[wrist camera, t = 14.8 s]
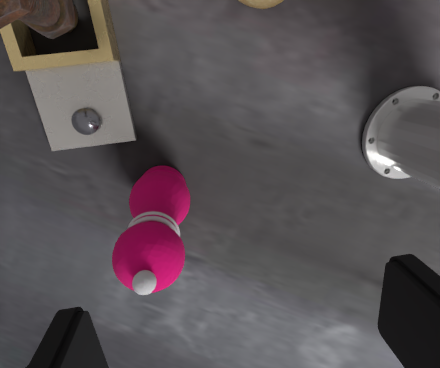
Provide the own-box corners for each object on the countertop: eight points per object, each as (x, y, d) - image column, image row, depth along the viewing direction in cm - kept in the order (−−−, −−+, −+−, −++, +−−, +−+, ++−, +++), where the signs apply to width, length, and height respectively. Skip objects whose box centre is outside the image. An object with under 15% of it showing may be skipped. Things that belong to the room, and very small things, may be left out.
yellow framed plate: (71, -167, 26) (55, -200, 23) (137, 138, 37) (132, 145, 33) (-45, -160, 26) (-78, -193, 22) (56, 148, 36) (43, 156, 33)
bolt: (28, 21, 31) (-100, -17, 17) (47, -25, 30) (-74, -107, 16) (81, 54, 33) (3, 44, 19) (101, 12, 31) (34, -33, 18)
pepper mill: (167, 220, 41) (152, 342, 23) (124, 190, 39) (69, 299, 21) (200, 183, 40) (213, 282, 21) (158, 150, 38) (131, 228, 19)
